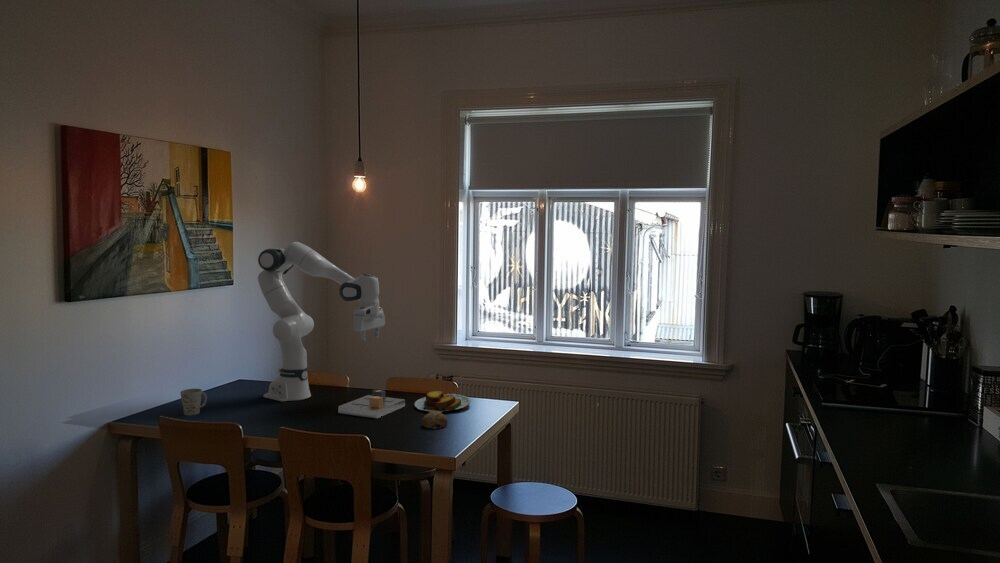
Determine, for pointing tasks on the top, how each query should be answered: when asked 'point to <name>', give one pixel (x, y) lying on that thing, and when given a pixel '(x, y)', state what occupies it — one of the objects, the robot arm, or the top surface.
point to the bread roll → (434, 420)
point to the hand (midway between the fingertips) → (370, 338)
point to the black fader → (379, 393)
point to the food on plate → (442, 402)
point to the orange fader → (376, 401)
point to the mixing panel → (363, 407)
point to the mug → (192, 401)
